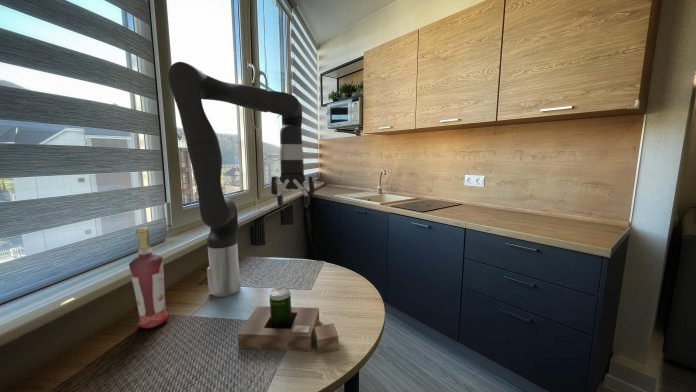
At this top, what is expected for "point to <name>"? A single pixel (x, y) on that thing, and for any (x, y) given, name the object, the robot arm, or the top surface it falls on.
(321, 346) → the walnut block
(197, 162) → the robot arm
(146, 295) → the liquor
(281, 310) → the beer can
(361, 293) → the top surface
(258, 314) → the socket block
